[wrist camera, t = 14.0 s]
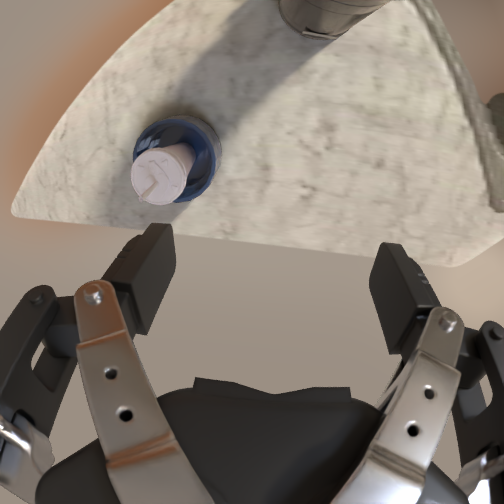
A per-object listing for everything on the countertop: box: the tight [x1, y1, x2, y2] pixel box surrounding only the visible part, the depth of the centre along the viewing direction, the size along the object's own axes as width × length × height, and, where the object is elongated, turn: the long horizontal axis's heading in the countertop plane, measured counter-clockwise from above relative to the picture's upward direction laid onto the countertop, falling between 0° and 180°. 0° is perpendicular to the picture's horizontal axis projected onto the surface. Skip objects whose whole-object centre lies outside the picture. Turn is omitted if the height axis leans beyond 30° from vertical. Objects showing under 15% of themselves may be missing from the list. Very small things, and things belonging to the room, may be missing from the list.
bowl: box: [133, 115, 222, 203], centre depth 35 cm, size 11×11×4 cm
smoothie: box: [131, 143, 196, 205], centre depth 31 cm, size 6×6×14 cm
